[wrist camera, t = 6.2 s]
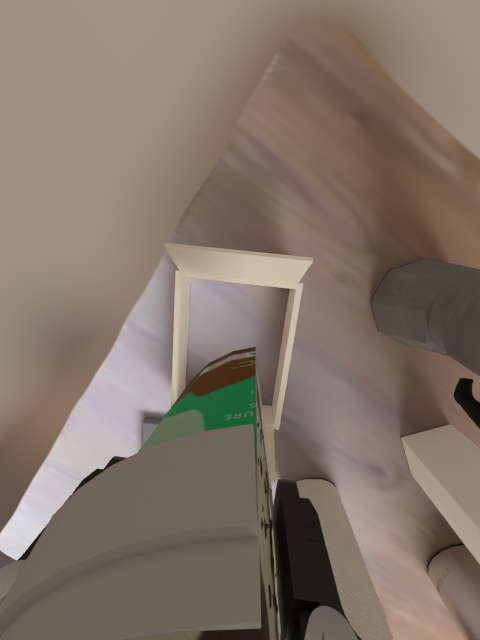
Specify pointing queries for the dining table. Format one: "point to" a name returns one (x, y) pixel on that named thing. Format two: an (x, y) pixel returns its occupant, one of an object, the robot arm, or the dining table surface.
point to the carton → (246, 271)
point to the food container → (165, 531)
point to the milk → (449, 478)
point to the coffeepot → (435, 315)
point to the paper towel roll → (346, 562)
